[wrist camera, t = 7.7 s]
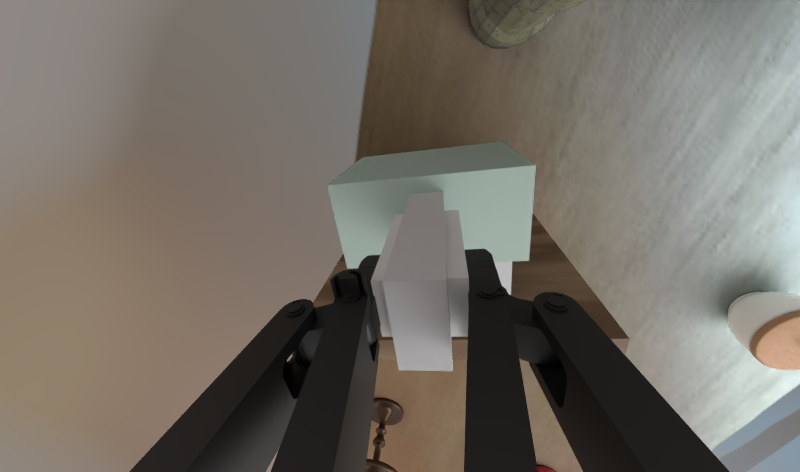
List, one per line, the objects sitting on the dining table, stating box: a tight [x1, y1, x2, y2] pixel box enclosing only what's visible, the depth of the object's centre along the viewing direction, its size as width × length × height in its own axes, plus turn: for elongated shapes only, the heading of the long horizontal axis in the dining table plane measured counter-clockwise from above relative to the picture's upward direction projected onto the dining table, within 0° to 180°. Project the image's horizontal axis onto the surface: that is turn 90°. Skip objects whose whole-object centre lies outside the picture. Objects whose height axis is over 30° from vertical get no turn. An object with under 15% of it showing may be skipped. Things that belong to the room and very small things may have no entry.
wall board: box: [313, 213, 629, 360], centre depth 34 cm, size 11×24×28 cm, turn 98°
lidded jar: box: [728, 291, 800, 370], centre depth 42 cm, size 11×11×9 cm
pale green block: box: [327, 141, 536, 371], centre depth 18 cm, size 9×12×18 cm
